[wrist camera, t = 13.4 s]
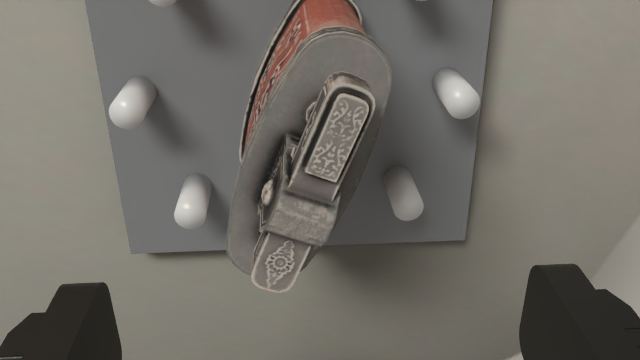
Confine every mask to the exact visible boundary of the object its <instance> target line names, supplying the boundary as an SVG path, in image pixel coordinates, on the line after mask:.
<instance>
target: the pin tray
mask: <svg viewBox="0 0 640 360" xmlns="http://www.w3.org/2000/svg"><path fill="white" fill-rule="evenodd" d="M292 1H293V0H85V3H86V8H87V14H88V19H89V25H90V30H91V36H92V41H93V47H94V52H95V58H96V63H97V69H98V74H99V80H100V85H101V91H102V96H103V102H104V107H105V113H106V118H107V124H108V129H109V135H110V140H111V146H112V151H113V157H114V162H115V168H116V173H117V179H118V184H119V190H120V195H121V201H122V206H123V212H124V217H125V223H126V229H127V234H128V240H129V245H130V251H131V254H139V253H163V252H188V251H212V250H226V236H227V230H228V223H229V216H230V210H231V203H232V197H233V190H234V185H235V181H236V178H237V175H238V171H239V168H240V164H241V162H240V159H239V148H240V141H241V134H242V128H243V121H244V115H245V108H246V105H247V101H248V98H249V94H250V91H251V87H252V84H253V80H254V77H255V73H256V70H257V68H258V66H259V63H260V61H261V59H262V57H263V55H264V52H265V50H266V48H267V46H268V44H269V41H270V39H271V37H272V35H273V33H274V31H275V29H276V28H277V26H278V24H279V23H280V21H281V20H282V18H283V16H284V15H285V13H286V11H287V10H288V8H289V6H290V5H291V3H292ZM353 1H354V2H355V3H356V5H357V7H358V9H359V12H360V15H361V17H362V27H363V29H364V31H365V33H366V35H368V36H370V37H371V38H372V39H373V40H374V41H375V42H376V43H377V44H378V46H379V47H380V48H381V49H382V50H383V52H384V54H385V56H386V57H387V60H388V63H389V66H390V68H391V71H392V76H391V88H390V92H389V96H388V100H387V104H386V107H385V111H384V115H383V119H382V123H381V127H380V131H379V134H378V138H377V141H376V143H375V146H374V148H373V151H372V153H371V156H370V158H369V161H368V163H367V166H366V169H365V171H364V174H363V176H362V179H361V181H360V184H359V186H358V188H357V190H356V192H355V193H354V195H353V197H352V199H351V200H350V202H349V204H348V206H347V207H346V209H345V211H344V213H343V214H342V216H341V218H340V220H339V221H338V223H337V225H336V226H335V228H334V230H333V231H332V233H331V234H330V235H329V237H328V239H327V241H326V243H325V244H324V245H323V246H334V245H359V244H383V243H408V242H432V241H456V240H465V237H466V228H467V220H468V211H469V203H470V194H471V186H472V177H473V168H474V160H475V151H476V143H477V134H478V126H479V117H480V108H481V100H482V91H483V83H484V74H485V65H486V57H487V48H488V40H489V31H490V23H491V14H492V5H493V0H353Z"/></svg>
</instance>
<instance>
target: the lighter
mask: <svg viewBox="0 0 640 360" xmlns="http://www.w3.org/2000/svg"><path fill="white" fill-rule="evenodd" d="M391 76H392V71H391V68H390V66H389V63H388V60H387V57H386V56H385V54H384V52H383V50H382V49H381V48H380V47H379V46H378V44H377V43H376V42H375V41H374V40H373V39H372V38H371V37H370V36H368V35H366V33H365V31H364V29H363V27H362V17H361V15H360V12H359V9H358V7H357V5H356V3H355V2H354V1H353V0H293V1H292V3H291V5H290V6H289V8H288V10H287V11H286V13H285V15H284V16H283V18H282V20H281V21H280V23H279V24H278V26H277V28H276V29H275V31H274V33H273V35H272V37H271V39H270V41H269V44H268V46H267V48H266V50H265V52H264V55H263V57H262V59H261V61H260V63H259V66H258V68H257V70H256V73H255V77H254V80H253V84H252V87H251V91H250V94H249V98H248V101H247V105H246V108H245V115H244V121H243V128H242V134H241V141H240V148H239V159H240V162H241V164H240V168H239V171H238V175H237V178H236V181H235V185H234V190H233V197H232V203H231V210H230V216H229V223H228V230H227V236H226V252H227V255H228V257H229V258H230V260H231V262H232V263H233V265H235V266H236V267H237V268H238V269H239V270H241V271H242V272H243V273H245V274H248V275H250V276H251V278H252V282H253V283H254V284H255V285H256V286H257V287H259V288H261V289H264V290H267V291H271V292H277V293H281V292H286V291H287V290H289V289H290V288H291V287H292V285H293V284H294V282H295V280H296V278H297V276H298V274H299V272H300V271H302V270H303V269H304V268H305V267H306V266H307V265H308V263H309V262H310V261H311V259H312V258H313V257H314V255H315V254H316V253H317V251H318V250H319V249H320V248H321V247H322V246H323V245H324V244H325V243H326V241H327V239H328V237H329V235H330V234H331V233H332V231H333V230H334V228H335V226H336V225H337V223H338V221H339V220H340V218H341V216H342V214H343V213H344V211H345V209H346V207H347V206H348V204H349V202H350V200H351V199H352V197H353V195H354V193H355V192H356V190H357V188H358V186H359V184H360V181H361V179H362V176H363V174H364V171H365V169H366V166H367V163H368V161H369V158H370V156H371V153H372V151H373V148H374V146H375V143H376V141H377V138H378V134H379V131H380V127H381V123H382V119H383V115H384V111H385V107H386V104H387V100H388V96H389V92H390V88H391Z"/></svg>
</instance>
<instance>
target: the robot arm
mask: <svg viewBox="0 0 640 360" xmlns="http://www.w3.org/2000/svg"><path fill="white" fill-rule="evenodd" d="M519 339H520V347H521V352H522V355H523V358H524V360H640V318H639V317H638V316H637V314H636V313H635V311H634V310H633V309H632V308H631V307H630V306H629V305H628V304H626V303H625V302H623V301H622V300H621V299H619V298H618V297H616V296H615V295H613V294H612V293H611V292H609V291H608V290H606V289H599V290H595V288H594V287H593V285H592V284H591V283H590V281H589V280H588V279H587V277H586V276H585V275H584V273H583V272H582V270H581V269H580V268H579V267H578V266H577V265H575V264H555V265H535V266H533V267H532V269H531V271H530V274H529V278H528V284H527V289H526V295H525V301H524V306H523V312H522V317H521V323H520V329H519ZM0 360H122V350H121V343H120V338H119V334H118V329H117V325H116V320H115V315H114V311H113V306H112V302H111V297H110V293H109V289H108V287H107V285H106V284H105V283H104V282H100V283H76V284H62V285H61V286H60V287H59V288H58V290H57V292H56V294H55V296H54V297H53V299H52V301H51V303H50V305H49V307H48V309H47V311H46V312H45V313H31V314H30V315H29V316H27V317H26V318H25V319H24V320H23V321H22V322H21V323H19V324H18V325H17V326H16V327H15V328H14V329H13V330H11V331H10V332H9V333H8V334H7V336H6V338H5V339H4V341H3V343H2V345H1V346H0Z"/></svg>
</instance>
